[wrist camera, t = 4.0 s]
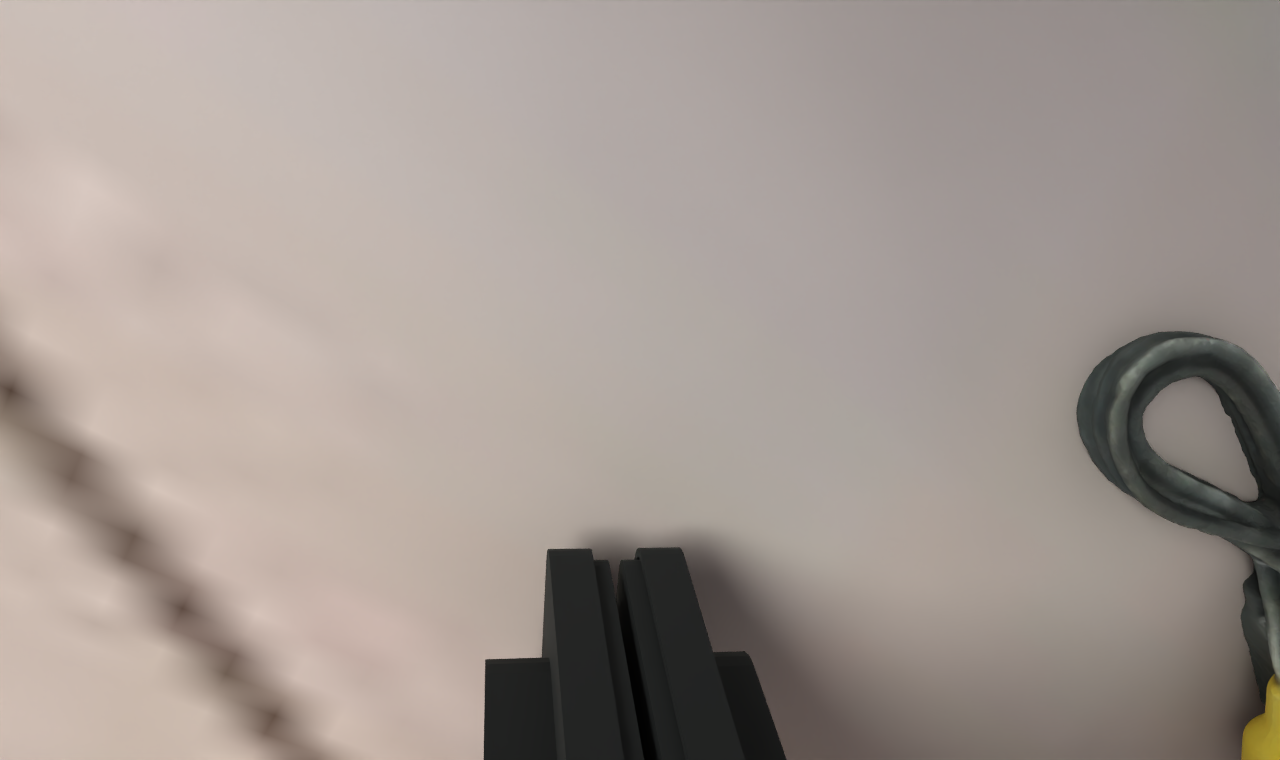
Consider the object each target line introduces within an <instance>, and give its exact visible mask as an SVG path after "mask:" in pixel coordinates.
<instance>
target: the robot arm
mask: <svg viewBox="0 0 1280 760" xmlns="http://www.w3.org/2000/svg"><path fill="white" fill-rule="evenodd" d="M484 760H786V757H785V754H784V751H783V748H782V745H781V742H780V740H779V737H778V734H777V731H776V728H775V725H774V722H773V720H772V717H771V714H770V711H769V708H768V705H767V702H766V699H765V697H764V694H763V691H762V688H761V685H760V682H759V679H758V677H757V674H756V671H755V668H754V665H753V663H752V661H751V659H750V656H749V655H748V654H747V653H746V652H745V651H742V652H713V651H712V647H711V644H710V641H709V637H708V634H707V631H706V627H705V624H704V621H703V617H702V614H701V611H700V607H699V604H698V600H697V597H696V594H695V590H694V587H693V584H692V580H691V577H690V574H689V570H688V567H687V564H686V560H685V557H684V554H683V551H682V549H681V548H679V547H678V548H638V549H637V550H636V553H635V559H634V560H621V561H620V565H619V574H618V586H617V597H616V598H615V593H614V587H613V581H612V576H611V570H610V565H609V561H608V560H594V559H593V553H592V550H591V549H548V551H547V560H546V580H545V601H544V622H543V643H542V658H518V659H487V660H485V718H484Z"/></svg>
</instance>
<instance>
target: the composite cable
mask: <svg viewBox="0 0 1280 760" xmlns="http://www.w3.org/2000/svg"><path fill="white" fill-rule="evenodd" d="M1193 376H1198V377H1202V378H1204V379H1205V380H1206V381H1207V382H1209V383H1210V384H1211V385H1212V386H1213V387H1214V388H1215V390H1216V392H1217V393H1218V395H1219V397H1220V400H1221V404H1222V406H1223V408H1224V411H1225V413H1226V414H1227V415H1228V416H1230V417H1231V420H1232V423H1233V425H1234V427H1235V433H1236V435H1237V437H1238V439H1239V442H1240V444H1241V447H1242V451H1243V453H1244V454H1245V456H1246V458H1247V461H1248V465H1249V467H1250V471H1251V474H1252V475H1253V477H1254V478H1255V479H1256V482H1257V485H1258V490H1259V494H1258V500H1257V501H1255V502H1247V503H1246V502H1242V501H1241V500H1240V499H1238V498H1237V497H1236V496H1234V495H1231V494H1229V493H1228V492H1224V491H1222V490H1220V489H1219V488H1217V487H1216V486H1213V485H1211V484H1210V483H1208V482H1206V481H1204V480H1201V479H1199V478H1197V477H1195V476H1193V475H1191V474H1189V473H1187V472H1185V471H1183V470H1180V469H1178V468H1176V467H1174V466H1171V465H1169V464H1167V463H1166V462H1165V461H1164V460H1163V459H1161V458H1160V457H1159V456H1158V455H1157V454H1156V453H1155V452H1154V451H1153V450H1152V449H1151V447H1150V446H1149V444H1148V443H1147V441H1146V438H1145V434H1144V431H1143V426H1142V416H1143V413H1144V411H1145V408H1146V406H1147V405H1148V404H1149V403H1150V402H1151V401H1152V400H1153V399H1154V397H1155V396H1156V395H1157V394H1158V393H1159V391H1160V390H1162V389H1163V388H1165V387H1166V386H1168V385H1169V384H1171V383H1172V382H1175V381H1178V380H1181V379H1185V378H1189V377H1193ZM1077 420H1078V425H1079V430H1080V436H1081V438H1082V440H1083V443H1084V445H1085V446H1086V448H1087V450H1088V452H1089V454H1090V456H1091V458H1092V460H1093V462H1094V463H1095V464H1096V466H1097V467H1098V468H1099V469H1100V471H1101V472H1102V473H1103V474H1104V475H1105V476H1106V477H1107V479H1108V480H1109V481H1111V482H1113V483H1114V484H1115V485H1116V486H1117V487H1118V488H1120V489H1121V490H1122V491H1123V492H1125V493H1127V494H1129V495H1131V496H1132V497H1134V498H1136V499H1137V500H1138V501H1139V502H1140V503H1141V504H1143V505H1144V506H1145V507H1147V508H1148V509H1150V510H1151V511H1153V512H1155V513H1156V514H1158V515H1160V516H1162V517H1163V518H1165V519H1167V520H1169V521H1171V522H1173V523H1177V524H1179V525H1181V526H1184V527H1187V528H1193V529H1197V530H1199V531H1202V532H1204V533H1207V534H1210V535H1217V536H1220V537H1222V538H1224V539H1225V540H1227V541H1229V542H1231V543H1232V544H1234V545H1235V546H1237V547H1239V548H1240V549H1242V550H1243V551H1245V552H1246V553H1248V554H1249V555H1250V556H1251V558H1252V559H1253V562H1254V572H1253V574H1252V575H1251V576H1250V577H1249V578H1247V579H1246V580H1245V581H1244V583H1243V590H1244V594H1245V597H1246V601H1245V605H1244V607H1243V609H1242V613H1241V620H1242V628H1243V632H1244V637H1245V639H1246V641H1247V643H1248V646H1249V649H1250V651H1249V652H1250V655H1251V659H1252V664H1253V667H1254V673H1255V676H1256V681H1257V684H1258V686H1259V692H1260V698H1261V701H1262V702H1263V704H1264V705H1265V706H1266V707H1265V713H1263V714H1261V715H1258V716H1256V717H1255V718H1253V719H1252V720H1250V722H1249V723H1248V724H1247V725H1246V727H1245V729H1244V732H1243V738H1242V757H1241V760H1280V392H1279V391H1278V390H1277V388H1276V386H1275V385H1274V384H1273V382H1272V381H1271V380H1270V378H1269V376H1268V374H1267V373H1266V372H1265V370H1264V369H1263V368H1262V367H1261V366H1260V365H1259V363H1258V362H1257V361H1256V360H1255V359H1254V358H1253V357H1251V356H1250V355H1249V354H1248V353H1247V352H1246V351H1244V350H1243V349H1242V348H1240V347H1238V346H1237V345H1234V344H1232V343H1229V342H1227V341H1224V340H1221V339H1217V338H1213V337H1210V336H1207V335H1203V334H1199V333H1192V332H1179V331H1177V332H1158V333H1155V334H1151V335H1148V336H1143V337H1140V338H1138V339H1136V340H1134V341H1132V342H1130V343H1128V344H1127V345H1125V346H1123V347H1121V348H1119V349H1118V350H1117V351H1115V352H1114V353H1113V354H1112V355H1110V356H1108V357H1106V358H1105V359H1104V360H1103V361H1102V362H1100V363H1099V364H1098V365H1097V366H1096V367H1095V368H1094V370H1093V371H1092V373H1091V374H1090V376H1089V377H1088V379H1087V380H1086V382H1085V384H1084V387H1083V389H1082V391H1081V394H1080V397H1079V400H1078V405H1077Z"/></svg>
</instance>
